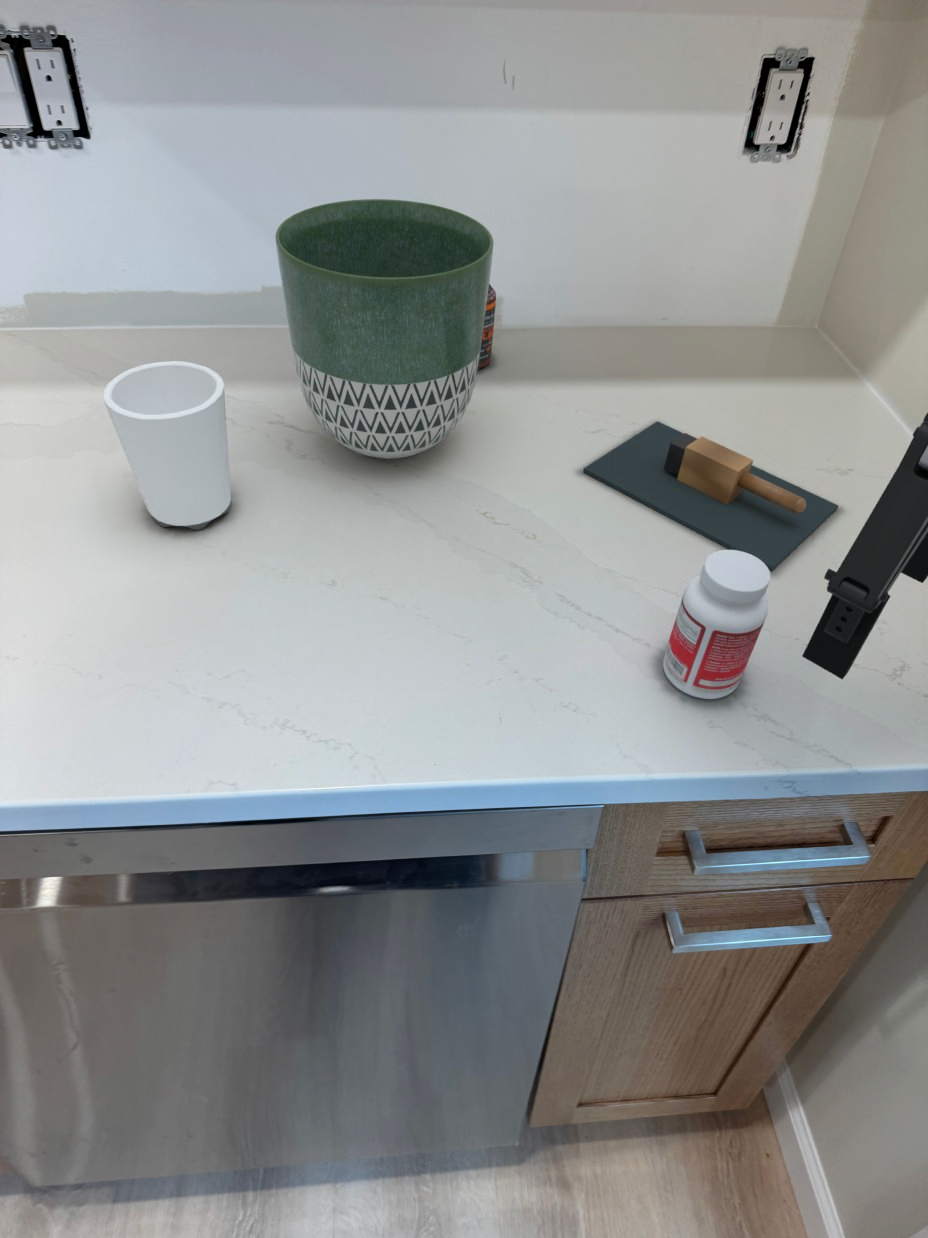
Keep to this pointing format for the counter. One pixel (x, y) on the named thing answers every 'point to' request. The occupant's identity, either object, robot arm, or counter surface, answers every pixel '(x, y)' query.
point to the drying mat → (709, 499)
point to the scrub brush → (722, 473)
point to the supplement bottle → (488, 329)
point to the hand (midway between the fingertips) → (867, 615)
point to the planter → (385, 318)
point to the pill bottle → (717, 625)
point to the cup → (174, 439)
